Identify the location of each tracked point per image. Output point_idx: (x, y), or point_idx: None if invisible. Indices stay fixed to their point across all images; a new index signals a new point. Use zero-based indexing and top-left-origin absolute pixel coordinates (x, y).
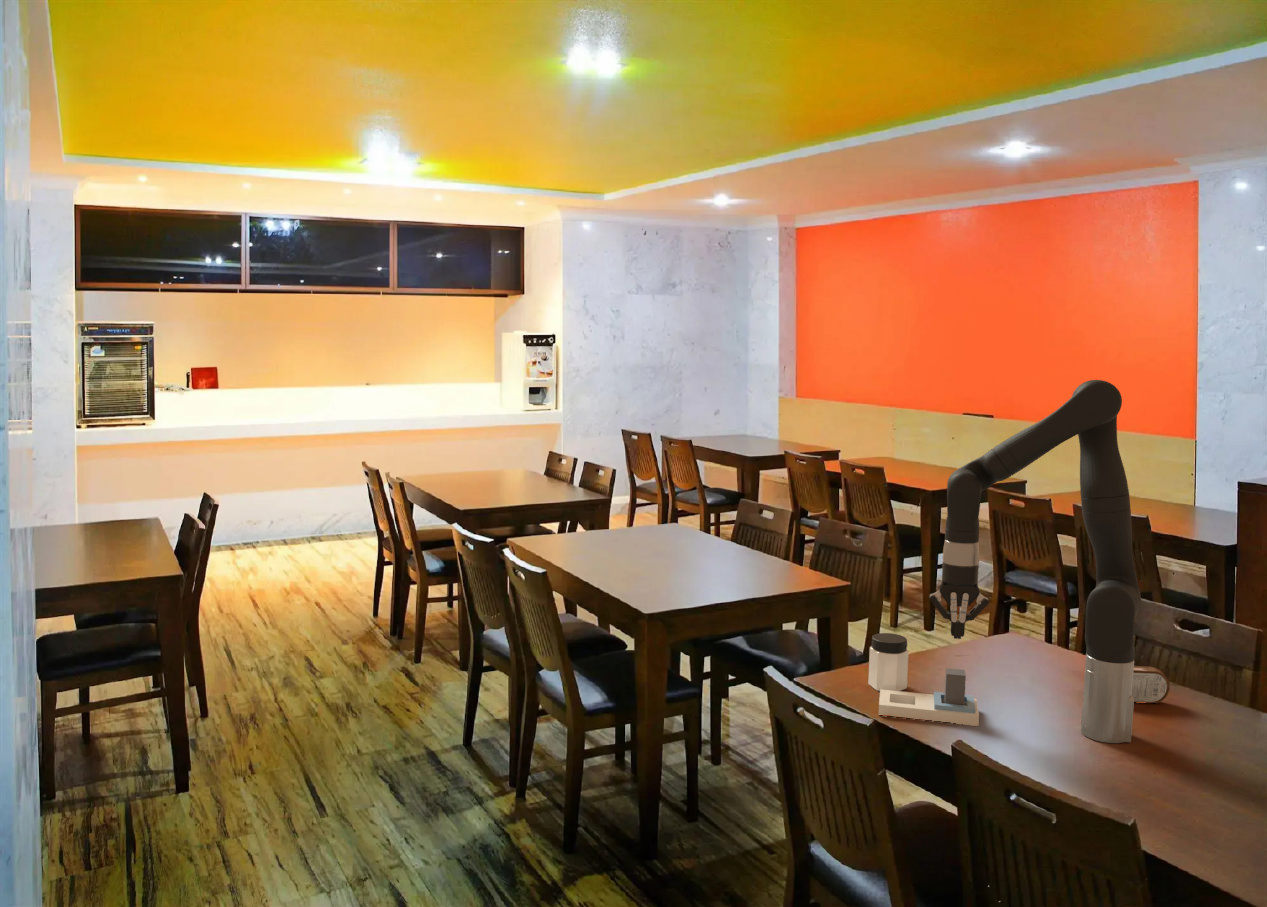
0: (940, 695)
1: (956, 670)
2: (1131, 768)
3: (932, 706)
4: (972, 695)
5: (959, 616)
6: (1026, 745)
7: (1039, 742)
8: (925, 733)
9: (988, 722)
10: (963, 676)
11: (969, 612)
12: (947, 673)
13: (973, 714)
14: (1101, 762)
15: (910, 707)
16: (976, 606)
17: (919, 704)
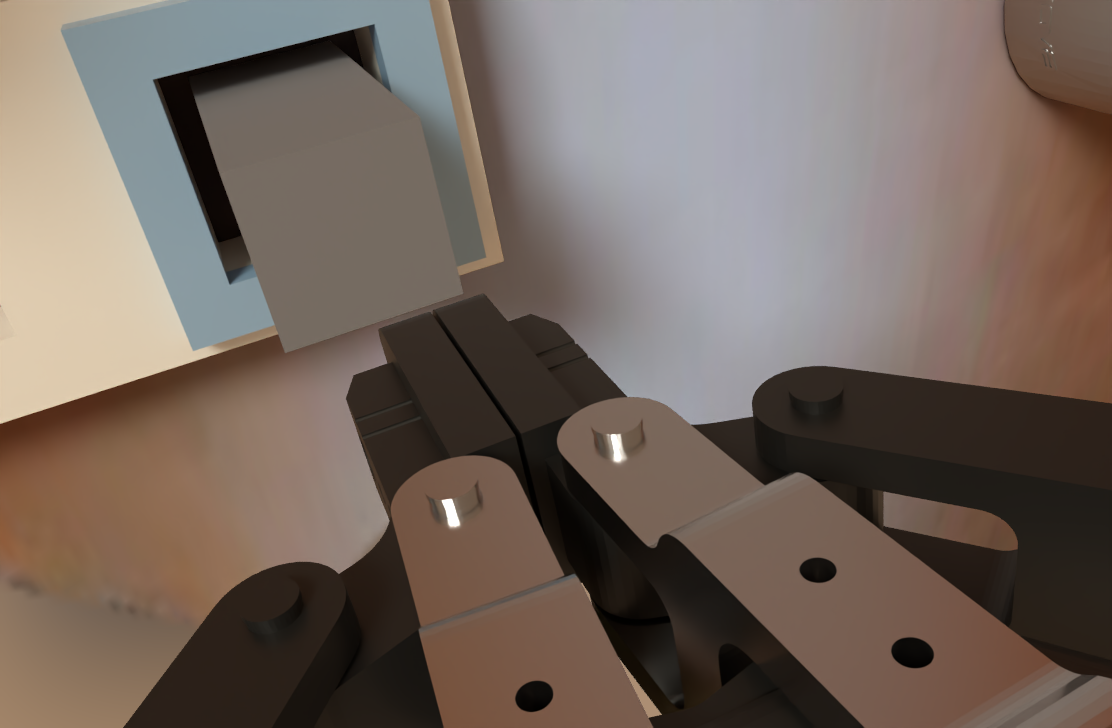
0: (158, 106)
1: (346, 189)
2: (1094, 331)
3: (156, 289)
4: None
5: (591, 514)
6: (734, 352)
7: (793, 275)
8: (215, 530)
9: (526, 131)
10: (441, 297)
11: (838, 481)
12: (288, 334)
13: (468, 272)
14: (1006, 342)
15: (7, 408)
16: (1094, 612)
17: (43, 308)
